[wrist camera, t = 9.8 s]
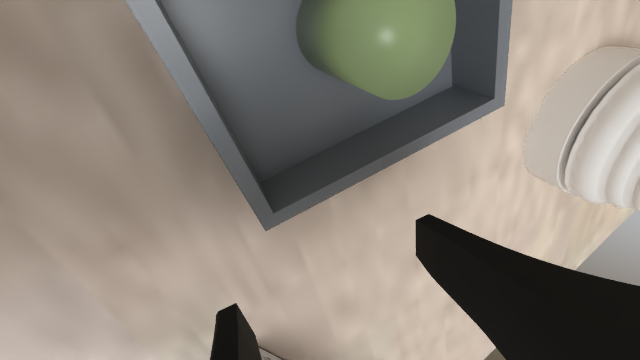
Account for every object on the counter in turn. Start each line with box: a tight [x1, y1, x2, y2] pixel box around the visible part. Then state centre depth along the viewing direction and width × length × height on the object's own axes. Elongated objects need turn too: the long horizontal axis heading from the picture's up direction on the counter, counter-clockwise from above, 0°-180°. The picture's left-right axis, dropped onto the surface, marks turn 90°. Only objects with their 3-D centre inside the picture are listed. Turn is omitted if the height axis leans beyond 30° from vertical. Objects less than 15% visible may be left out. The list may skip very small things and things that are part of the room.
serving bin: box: [125, 0, 512, 231], centre depth 14 cm, size 16×14×4 cm
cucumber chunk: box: [296, 0, 456, 100], centre depth 13 cm, size 4×4×6 cm
